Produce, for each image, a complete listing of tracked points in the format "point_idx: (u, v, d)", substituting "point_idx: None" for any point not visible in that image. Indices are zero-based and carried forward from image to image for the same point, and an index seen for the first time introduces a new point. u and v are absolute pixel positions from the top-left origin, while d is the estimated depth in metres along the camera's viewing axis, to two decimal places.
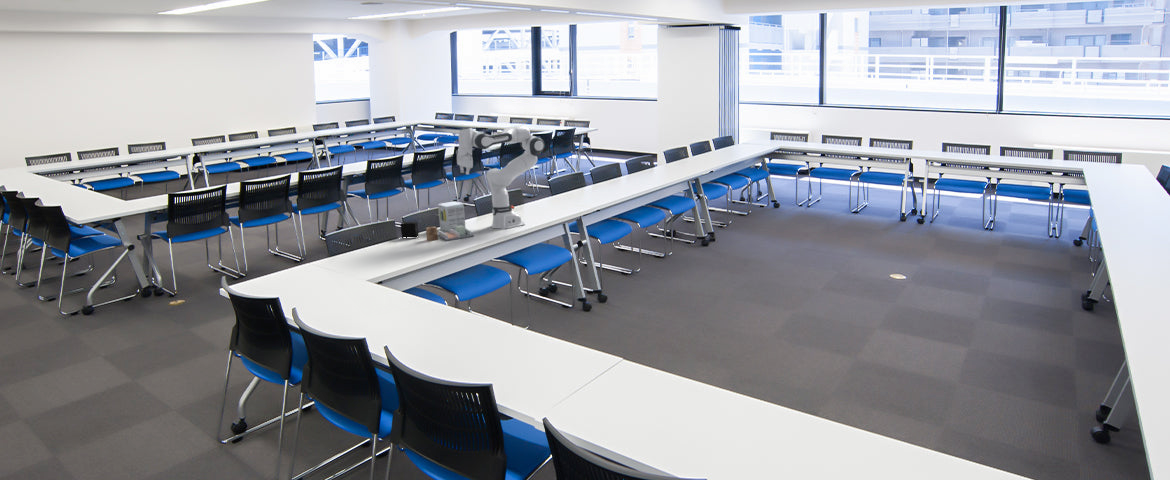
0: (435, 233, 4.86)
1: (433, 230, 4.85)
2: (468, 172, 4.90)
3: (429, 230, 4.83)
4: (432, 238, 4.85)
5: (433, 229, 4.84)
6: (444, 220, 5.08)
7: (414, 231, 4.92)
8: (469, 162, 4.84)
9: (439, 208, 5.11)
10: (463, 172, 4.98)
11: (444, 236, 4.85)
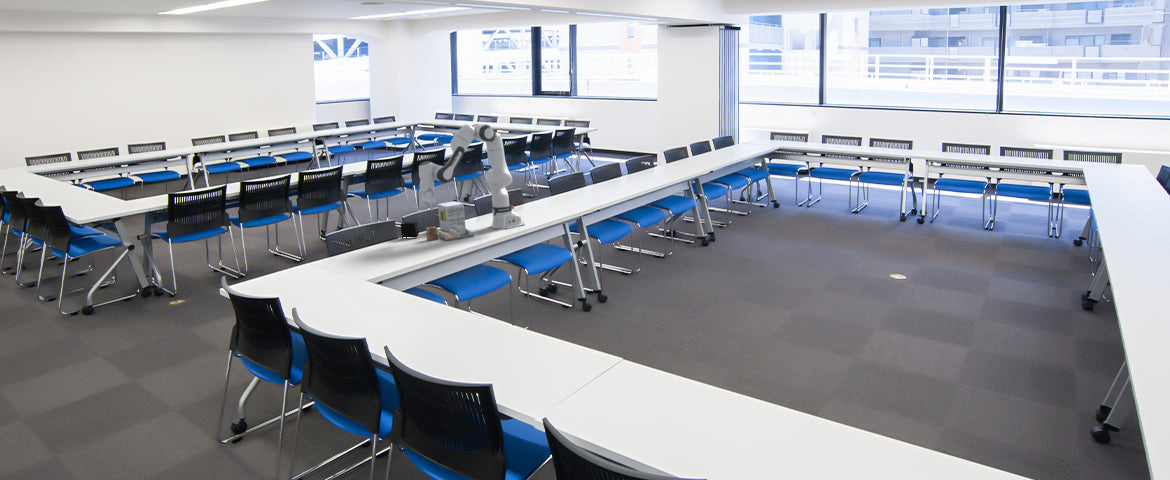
0: (435, 233, 4.86)
1: (434, 230, 4.85)
2: (432, 207, 4.78)
3: (429, 230, 4.83)
4: (432, 238, 4.85)
5: (433, 229, 4.84)
6: (443, 220, 5.08)
7: (414, 231, 4.92)
8: (432, 198, 4.72)
9: (439, 208, 5.11)
10: None
11: (444, 236, 4.85)
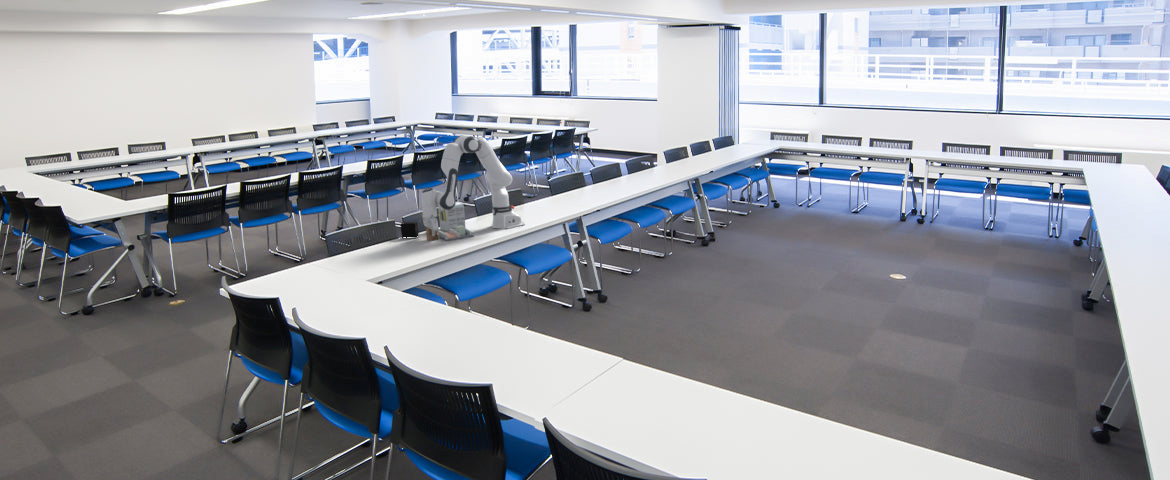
0: (435, 233, 4.86)
1: None
2: (434, 233, 4.84)
3: (429, 230, 4.83)
4: (432, 238, 4.85)
5: None
6: (444, 220, 5.08)
7: (414, 231, 4.92)
8: (434, 225, 4.76)
9: (439, 208, 5.11)
10: None
11: (444, 236, 4.85)
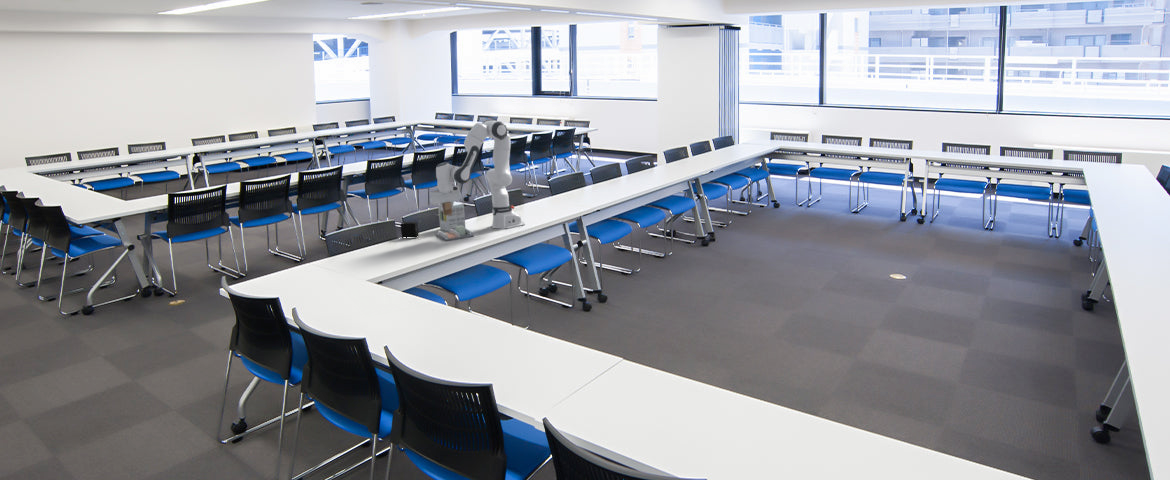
0: (444, 208, 4.84)
1: (444, 205, 4.85)
2: (441, 208, 4.85)
3: (442, 203, 4.87)
4: (444, 212, 4.87)
5: (443, 204, 4.84)
6: (443, 220, 5.08)
7: (414, 231, 4.92)
8: (430, 198, 4.81)
9: (439, 208, 5.11)
10: None
11: (444, 236, 4.85)
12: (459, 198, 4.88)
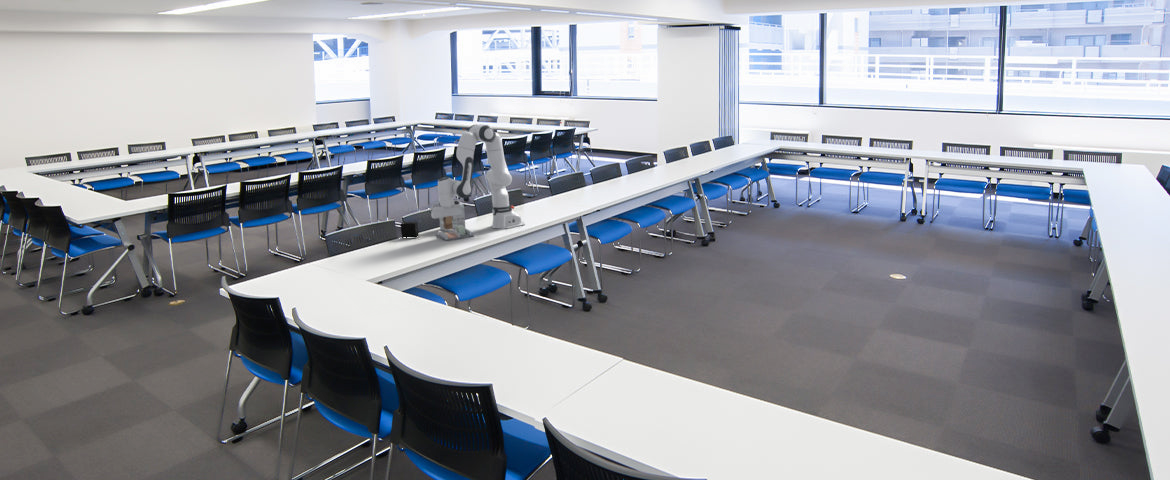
0: (445, 222, 4.87)
1: (444, 219, 4.87)
2: (442, 222, 4.87)
3: None
4: (444, 226, 4.89)
5: (444, 218, 4.87)
6: None
7: (414, 231, 4.92)
8: (431, 212, 4.83)
9: None
10: None
11: (444, 236, 4.85)
12: (460, 212, 4.90)
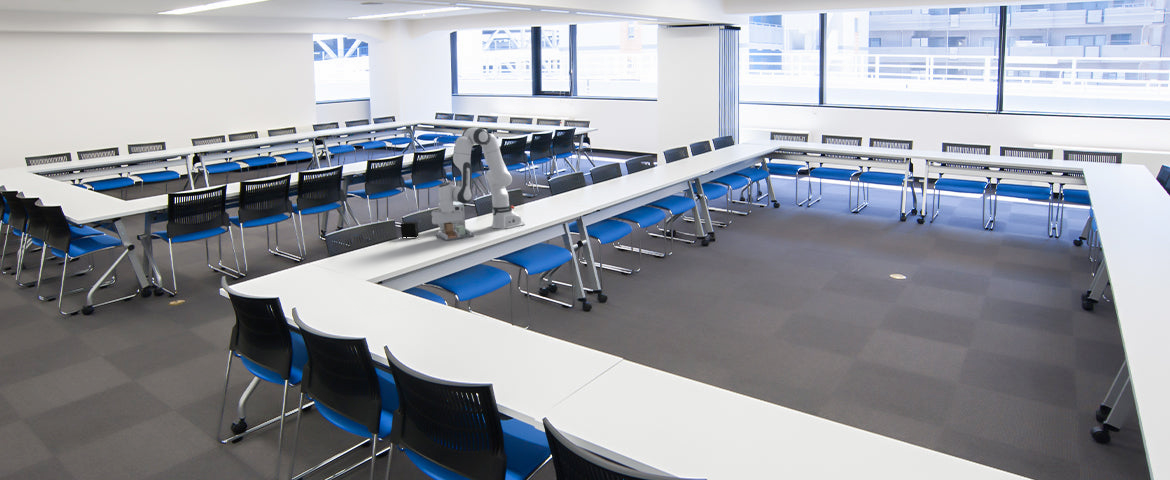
0: (446, 229, 4.88)
1: (445, 226, 4.88)
2: (440, 228, 4.87)
3: (444, 224, 4.91)
4: (445, 233, 4.91)
5: (445, 225, 4.88)
6: None
7: (414, 231, 4.92)
8: (432, 218, 4.84)
9: (439, 208, 5.11)
10: None
11: (444, 236, 4.85)
12: (461, 218, 4.91)
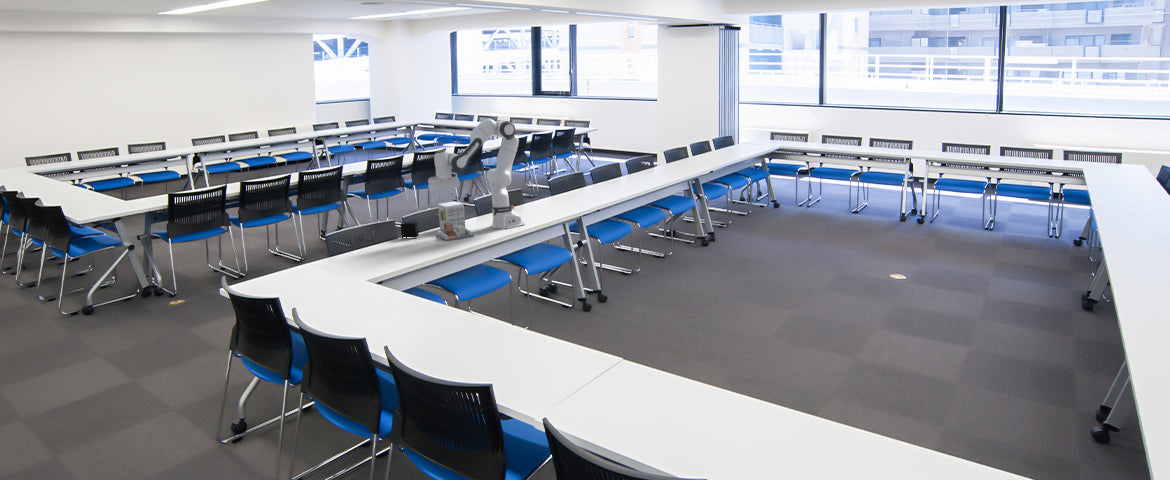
0: (446, 229, 4.88)
1: (445, 226, 4.88)
2: (437, 195, 4.89)
3: (444, 224, 4.91)
4: (445, 233, 4.91)
5: (445, 225, 4.88)
6: (443, 220, 5.08)
7: (414, 231, 4.92)
8: (429, 185, 4.86)
9: (439, 208, 5.11)
10: None
11: (444, 236, 4.85)
12: (457, 185, 4.93)
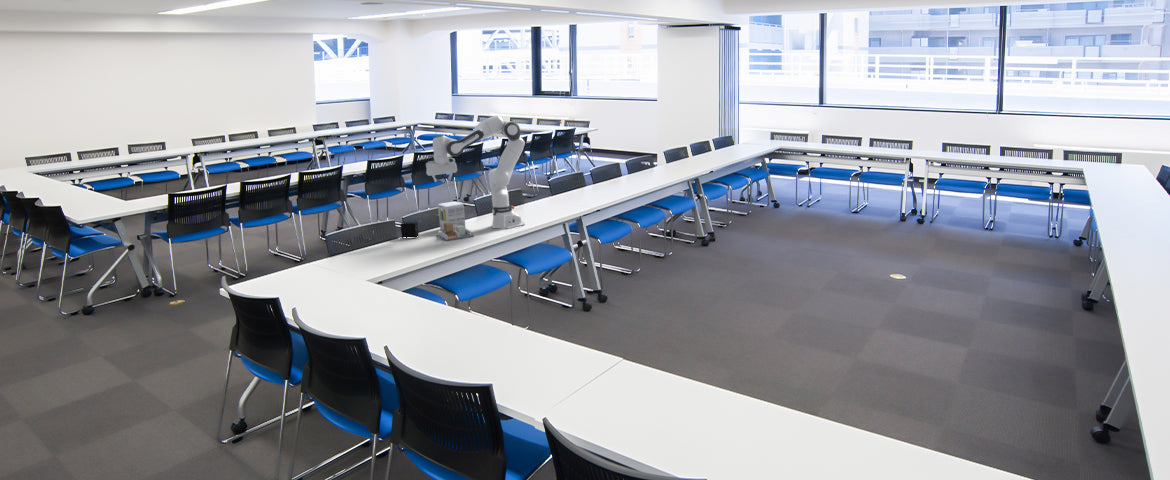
0: (446, 229, 4.88)
1: (445, 226, 4.88)
2: (434, 179, 4.97)
3: (444, 224, 4.91)
4: (445, 233, 4.91)
5: (445, 225, 4.88)
6: (444, 220, 5.08)
7: (414, 231, 4.92)
8: None
9: (439, 208, 5.11)
10: (448, 179, 5.02)
11: (444, 236, 4.85)
12: (455, 170, 5.02)
